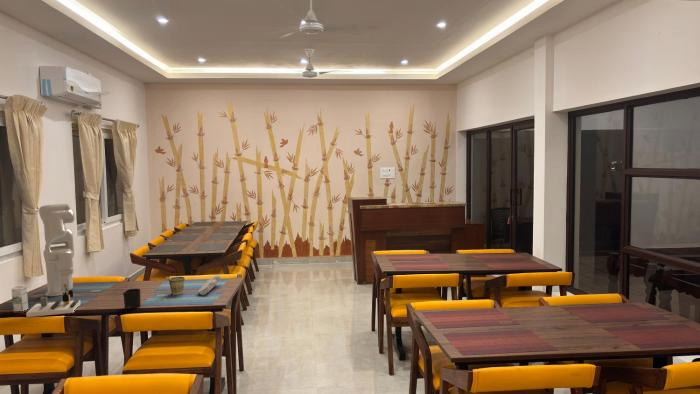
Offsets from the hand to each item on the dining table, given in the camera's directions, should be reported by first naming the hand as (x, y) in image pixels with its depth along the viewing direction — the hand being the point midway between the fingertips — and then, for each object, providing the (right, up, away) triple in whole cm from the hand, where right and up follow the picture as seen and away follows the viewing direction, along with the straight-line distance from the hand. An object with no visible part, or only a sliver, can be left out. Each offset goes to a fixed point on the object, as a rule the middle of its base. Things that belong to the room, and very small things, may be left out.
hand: (68, 299), depth 306 cm
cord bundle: (+2, -2, -6) cm, 7 cm away
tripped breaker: (+1, -1, -3) cm, 3 cm away
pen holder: (+41, -4, -4) cm, 41 cm away
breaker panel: (-4, -5, -7) cm, 10 cm away
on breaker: (-11, -2, -6) cm, 13 cm away
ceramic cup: (+58, -1, +26) cm, 64 cm away
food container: (+76, -1, +32) cm, 82 cm away
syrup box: (-24, -6, -8) cm, 25 cm away
